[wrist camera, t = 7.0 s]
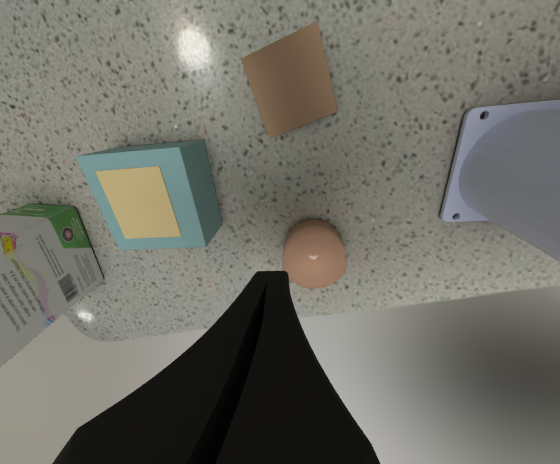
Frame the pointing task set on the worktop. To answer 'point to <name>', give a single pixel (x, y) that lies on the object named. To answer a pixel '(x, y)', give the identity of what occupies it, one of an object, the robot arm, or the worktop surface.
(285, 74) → the walnut cube
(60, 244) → the ink box
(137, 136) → the worktop surface
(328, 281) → the peach rounded dome
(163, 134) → the worktop surface
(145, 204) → the teal block
